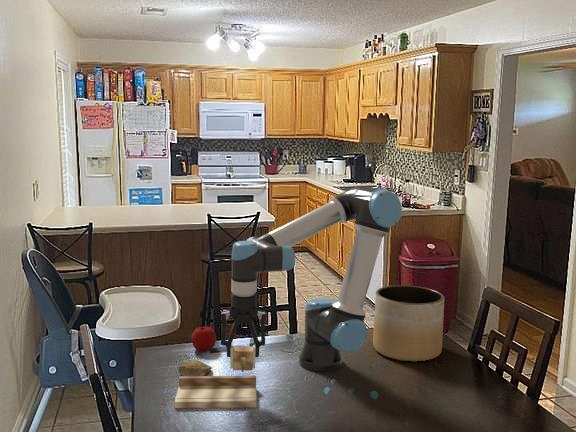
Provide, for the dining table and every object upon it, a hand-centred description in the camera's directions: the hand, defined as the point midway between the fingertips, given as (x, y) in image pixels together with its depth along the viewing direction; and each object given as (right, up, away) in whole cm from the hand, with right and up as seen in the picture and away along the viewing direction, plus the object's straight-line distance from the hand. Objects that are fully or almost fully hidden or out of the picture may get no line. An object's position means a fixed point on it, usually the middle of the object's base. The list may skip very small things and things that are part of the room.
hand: (242, 366), depth 176 cm
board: (-8, -10, +1) cm, 13 cm away
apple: (-17, -4, +39) cm, 43 cm away
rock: (-17, -7, +19) cm, 27 cm away
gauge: (0, -1, -2) cm, 2 cm away
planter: (+58, -5, +42) cm, 72 cm away
